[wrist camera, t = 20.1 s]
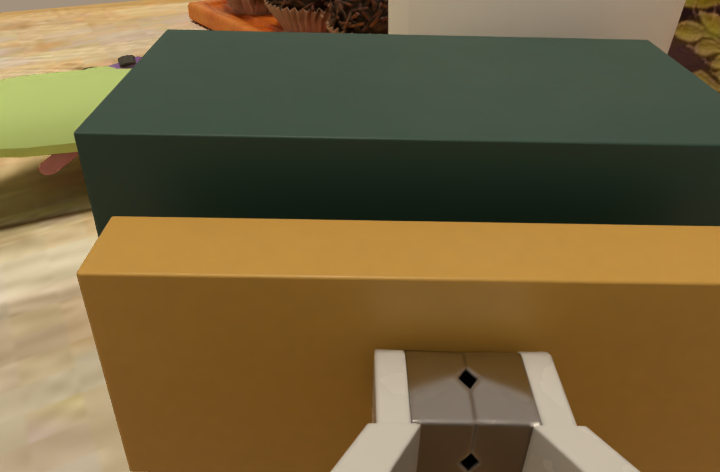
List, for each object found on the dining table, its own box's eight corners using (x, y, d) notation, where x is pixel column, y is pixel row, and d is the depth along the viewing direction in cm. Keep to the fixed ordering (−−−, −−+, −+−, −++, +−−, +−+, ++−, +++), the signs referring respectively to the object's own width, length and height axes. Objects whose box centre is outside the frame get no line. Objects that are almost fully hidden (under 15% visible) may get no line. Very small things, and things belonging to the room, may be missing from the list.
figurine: (-282, 175, 33) (-345, 70, 30) (197, 79, 47) (187, 0, 44) (-325, 393, 21) (-439, 252, 18) (342, 177, 34) (343, 76, 31)
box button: (718, 478, 13) (819, 284, 10) (129, 472, 13) (74, 273, 10) (680, 410, 15) (760, 225, 12) (153, 404, 14) (111, 215, 12)
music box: (680, 579, 16) (880, 210, 10) (132, 574, 16) (13, 196, 10) (571, 325, 25) (648, 39, 19) (207, 321, 24) (166, 28, 18)
